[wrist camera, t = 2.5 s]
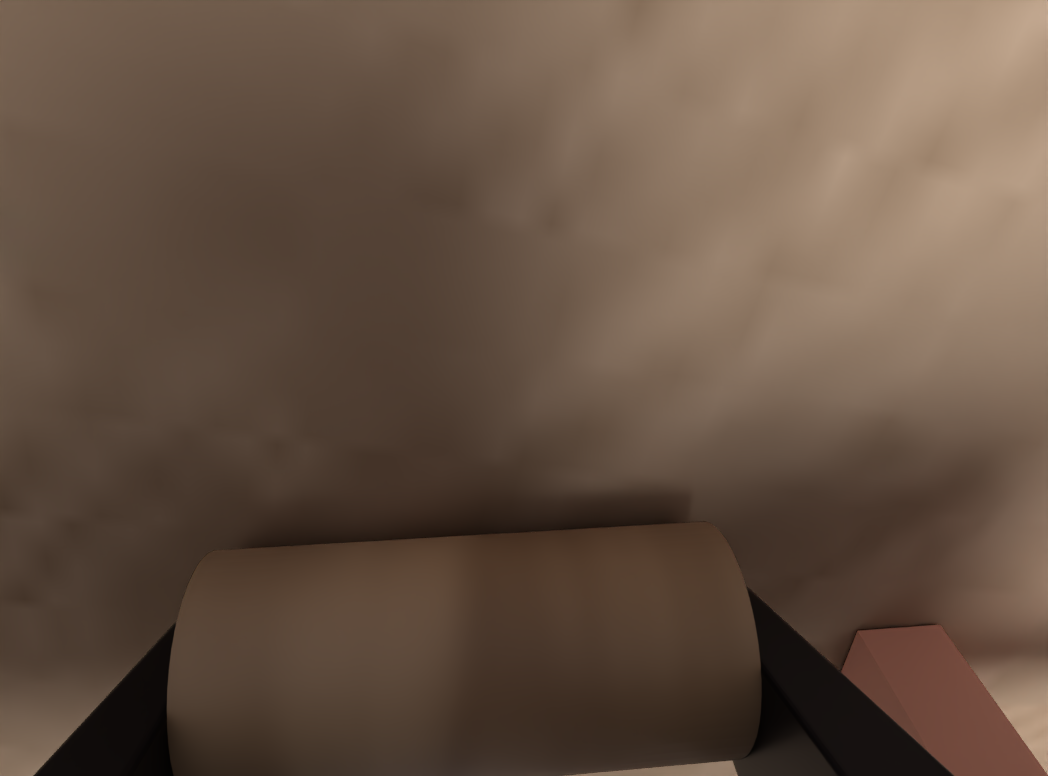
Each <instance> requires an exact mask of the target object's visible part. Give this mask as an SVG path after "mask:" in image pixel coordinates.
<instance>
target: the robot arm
mask: <svg viewBox="0 0 1048 776" xmlns="http://www.w3.org/2000/svg"><path fill="white" fill-rule="evenodd" d="M746 588H747V591H748V595H749V599H750V603H751V607H752V611H753V616H754V621H755V626H756V632H757V638H758V645H759V653H760V663H761V679H762V700H761V715H760V723H759V728H758V733H757V737H756V740H755V743H754V746H753V748H752V749H751V751H750V753H749V754H748V755H747V756H746V757H745V758H742V759H740V760H733V763H734V766H735V769H736V772H737V774H738V776H954V775H953V774H952V773H951V772H950V771H949V770H948V769H947V768H946V767H945V766H943V765H942V764H941V763H940V762H939V761H938V760H937V759H936V758H935V757H934V756H932V755H931V754H930V753H929V752H928V751H927V750H926V749H925V748H924V747H923V746H921V745H920V744H919V743H918V742H917V741H916V740H915V739H914V738H913V737H912V736H911V735H909V734H908V733H907V732H906V731H905V730H904V729H903V728H902V727H901V726H900V725H898V724H897V723H896V722H895V721H894V720H893V719H892V718H891V717H890V716H889V715H887V714H886V713H885V712H884V711H883V710H882V709H881V708H880V707H879V706H878V705H876V704H875V703H874V702H873V701H872V700H871V699H870V698H869V697H868V696H867V695H866V694H864V693H863V692H862V691H861V690H860V689H859V688H858V687H857V686H856V685H855V684H853V683H852V682H851V681H850V680H849V679H848V678H847V677H846V676H845V675H844V674H842V673H841V672H840V671H839V670H838V669H837V668H836V667H835V666H834V665H833V664H831V663H830V662H829V661H828V660H827V659H826V658H825V657H824V656H823V655H822V654H820V653H819V652H818V651H817V650H816V649H815V648H814V647H813V646H812V645H811V644H810V643H808V642H807V641H806V640H805V639H804V638H803V637H802V636H801V635H800V634H799V633H797V632H796V631H795V630H794V629H793V628H792V627H791V626H790V625H789V624H788V623H786V622H785V621H784V620H783V619H782V618H781V617H780V616H779V615H778V614H777V613H775V612H774V611H773V610H772V609H771V608H770V607H769V606H768V605H767V604H766V603H765V602H763V601H762V600H761V599H760V598H759V597H758V596H757V595H756V594H755V593H754V592H752V591H751V590H750V589H749V588H748V587H747V586H746ZM176 623H177V622H176ZM176 623H174V624H173V625H172V626H171V628H170V629H169V630H168V631H167V632H166V633H165V634H164V635H163V636H162V637H161V638H160V639H159V641H158V642H157V643H156V644H155V645H154V646H153V647H152V648H151V649H150V650H149V651H148V652H147V654H146V655H145V656H144V657H143V658H142V659H141V660H140V661H139V662H138V663H137V664H136V665H135V666H134V668H133V669H132V670H131V671H130V672H129V673H128V674H127V675H126V676H125V677H124V678H123V679H122V681H121V682H120V683H119V684H118V685H117V686H116V687H115V688H114V689H113V690H112V691H111V692H110V694H109V695H108V696H107V697H106V698H105V699H104V700H103V701H102V702H101V703H100V704H99V705H98V707H97V708H96V709H95V710H94V711H93V712H92V713H91V714H90V715H89V716H88V717H87V718H86V719H85V721H84V722H83V723H82V724H81V725H80V726H79V727H78V728H77V729H76V730H75V731H74V732H73V734H72V735H71V736H70V737H69V738H68V739H67V740H66V741H65V742H64V743H63V744H62V745H61V747H60V748H59V749H58V750H57V751H56V752H55V753H54V754H53V755H52V756H51V757H50V758H49V760H48V761H47V762H46V763H45V764H44V765H43V766H42V767H41V768H40V769H39V770H38V771H37V772H36V774H35V775H34V776H173V771H172V766H171V761H170V754H169V746H168V734H167V687H168V675H169V664H170V656H171V649H172V643H173V637H174V632H175V627H176Z"/></svg>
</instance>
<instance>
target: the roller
mask: <svg viewBox="0 0 1048 776" xmlns="http://www.w3.org/2000/svg"><path fill="white" fill-rule="evenodd" d="M761 700H762V679H761V663H760V653H759V645H758V638H757V632H756V626H755V621H754V616H753V611H752V607H751V603H750V599H749V595H748V591H747V588H746V585H745V582H744V578H743V575H742V573H741V570H740V567H739V565H738V562H737V560H736V558H735V556H734V553H733V551H732V549H731V547H730V546H729V544H728V542H727V540H726V539H725V538H724V536H723V535H722V533H721V532H720V531H719V530H718V529H717V528H716V527H715V526H714V525H712V524H711V523H708V522H688V523H671V524H654V525H637V526H620V527H603V528H586V529H569V530H552V531H535V532H518V533H501V534H484V535H467V536H450V537H433V538H417V539H400V540H383V541H366V542H349V543H332V544H315V545H298V546H281V547H264V548H247V549H230V550H214V551H212V552H210V553H208V554H207V555H206V556H205V557H203V559H202V560H201V561H200V563H199V564H198V565H197V567H196V569H195V571H194V572H193V574H192V576H191V579H190V581H189V583H188V586H187V588H186V591H185V594H184V597H183V600H182V603H181V607H180V610H179V614H178V618H177V623H176V627H175V632H174V637H173V643H172V649H171V656H170V664H169V675H168V687H167V734H168V746H169V754H170V761H171V766H172V771H173V776H565V775H576V774H587V773H598V772H608V771H619V770H630V769H641V768H652V767H663V766H674V765H685V764H696V763H707V762H718V761H729V760H740V759H742V758H745V757H746V756H747V755H748V754H749V753H750V751H751V749H752V748H753V746H754V743H755V740H756V737H757V733H758V728H759V723H760V715H761Z"/></svg>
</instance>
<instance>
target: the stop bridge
mask: <svg viewBox="0 0 1048 776" xmlns="http://www.w3.org/2000/svg"><path fill="white" fill-rule="evenodd" d="M841 673H842V674H844V675H845V676H846V677H847V678H848V679H849V680H850V681H851V682H852V683H853V684H855V685H856V686H857V687H858V688H859V689H860V690H861V691H862V692H863V693H864V694H866V695H867V696H868V697H869V698H870V699H871V700H872V701H873V702H874V703H875V704H876V705H878V706H879V707H880V708H881V709H882V710H883V711H884V712H885V713H886V714H887V715H889V716H890V717H891V718H892V719H893V720H894V721H895V722H896V723H897V724H898V725H900V726H901V727H902V728H903V729H904V730H905V731H906V732H907V733H908V734H909V735H911V736H912V737H913V738H914V739H915V740H916V741H917V742H918V743H919V744H920V745H921V746H923V747H924V748H925V749H926V750H927V751H928V752H929V753H930V754H931V755H932V756H934V757H935V758H936V759H937V760H938V761H939V762H940V763H941V764H942V765H943V766H945V767H946V768H947V769H948V770H949V771H950V772H951V773H952V774H953V775H954V776H1048V775H1047V773H1046V772H1045V771H1044V769H1043V768H1042V766H1041V765H1040V764H1039V762H1038V761H1037V759H1036V758H1035V757H1034V755H1033V754H1032V752H1031V751H1030V750H1029V748H1028V747H1027V745H1026V744H1025V743H1024V741H1023V740H1022V738H1021V737H1020V736H1019V734H1018V733H1017V731H1016V730H1015V729H1014V727H1013V726H1012V724H1011V723H1010V722H1009V720H1008V719H1007V717H1006V716H1005V715H1004V713H1003V712H1002V710H1001V709H1000V708H999V706H998V705H997V703H996V702H995V701H994V699H993V698H992V697H991V695H990V694H989V692H988V691H987V690H986V688H985V687H984V685H983V684H982V683H981V681H980V680H979V678H978V677H977V676H976V674H975V673H974V671H973V670H972V669H971V667H970V666H969V664H968V663H967V662H966V660H965V659H964V657H963V656H962V655H961V653H960V652H959V650H958V649H957V648H956V646H955V645H954V643H953V642H952V641H951V639H950V638H949V636H948V635H947V634H946V632H945V631H944V629H943V628H942V627H941V625H928V626H915V627H901V628H888V629H874V630H861V631H857V633H856V636H855V638H854V641H853V643H852V646H851V648H850V651H849V653H848V656H847V658H846V661H845V663H844V666H843V669H842V671H841Z"/></svg>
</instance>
